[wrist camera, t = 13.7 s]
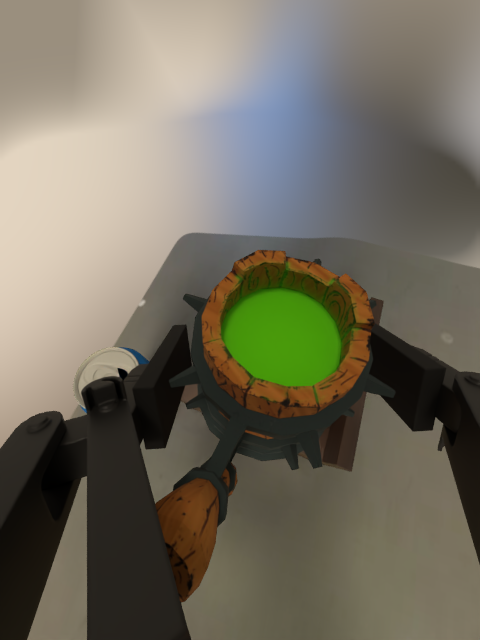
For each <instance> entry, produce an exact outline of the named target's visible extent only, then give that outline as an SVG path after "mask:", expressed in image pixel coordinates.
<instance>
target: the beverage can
mask: <svg viewBox="0 0 480 640" xmlns="http://www.w3.org/2000/svg"><path fill="white" fill-rule="evenodd" d="M139 364H149V361H148V360H147V359H146V358H144V357H143V356H142V355H141V354H140V353H138V352H137V351H135V350H133V349H129V348H123V347H119V348H118V347H110V348H105V349H102V350H99V351H97V352H95V353H94V354H92V355H91V356H89V357H88V358H87V359H86V360H85V361H84V362H83V363H82V364H81V366H80V367H79V369H78V371H77V373H76V375H75V378H74V383H73V391H74V396H75V398H76V400H77V402H78V403H79V404H80V406H81V407H82V409H83V410H84V411H85V412H86V413H87V411H86V408H85V405H84V401H83V398H82V395H81V391H82V389H83V388H84V387H85V386H86V385H87V384H89V383H91V382H92V381H94V380H97V379H100V378H103V377H108V376H117V377H121V378H122V379H123V380H124V379H125V378H126V377H127V375H128V374H129V372H130V371H131V370H132V369H133V368H135V367H136V366H138V365H139Z"/></svg>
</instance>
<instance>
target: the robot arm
mask: <svg viewBox="0 0 480 640" xmlns="http://www.w3.org/2000/svg"><path fill="white" fill-rule="evenodd" d="M370 345H371V350H372V355H373V362H372V365H371V368H370V371H369V374H370V375H372V376H374V377H375V378H377V379H378V380H380V381H381V382H383V383H384V384H386V385H388V386H389V387H391V388H392V389H394V390H395V395H394V397H393V398H391V397H387V396H382V395H380V396H381V397H382V398H383V399H384V400H385V401H386V402H387V403H388V404H389V406H390V407H391V408H392V409H393V410H394V411H395V412H396V413H397V414H398V415H399V417H400V418H401V419H402V420H403V421H404V422H405V423H406V424H407V425H408V427H409V428H410V429H411V430H412V431H428V430H433V426H434V421H435V417H436V418H437V419H439V420H440V421H441V422H442V423H443V428H442V432H441V437H440V441H439V445H438V451H442V447H444V446H445V448H446V451H447V454H448V458H449V461H450V465H451V468H452V471H453V475H454V478H455V482H456V485H457V489H458V492H459V495H460V499H461V502H462V506H463V509H464V512H465V516H466V519H467V523H468V526H469V529H470V533H471V536H472V540H473V543H474V547H475V550H476V553H477V557H478V560H479V564H480V374H479V373H475V372H459V371H457V370H456V369H454V368H452V367H451V366H449V365H447V364H446V363H444V362H443V361H439V359H438V358H436V357H434V356H432V355H431V354H430V353H428V352H426V351H425V350H423V349H420V348H417V347H414V346H411V345H409V344H408V343H406V342H404V341H403V340H401V339H400V338H398V337H397V336H395V335H393V334H392V333H390V332H389V331H387V330H385V329H384V328H382V327H381V326H379V325H378V324H376V323H375V324H374V326H373V327H372V329H371V340H370ZM191 366H192V363H191V356H190V348H189V341H188V334H187V327H186V325H174V326H173V327H172V329H171V330H170V332H169V333H168V335H167V336H166V338H165V339H164V341H163V342H162V344H161V345H160V347H159V348H158V350H157V351H156V353H155V354H154V356H153V358H152V359H151V361H150V362H149V364H139V365H138V366H136V367H135V368H133V369H132V370H131V371H130V372H129V374H128V375H127V377H126V378H125V379H124V380H123V379H122V378H121V377H117V376H108V377H103V378H100V379H97V380H94V381H92V382H91V383H89V384H87V385H86V386H85V387H84V388H83V389H82V391H81V395H82V398H83V401H84V405H85V408H86V411H87V415H85V416H82V417H78V418H74V419H70V420H66V421H64V419H63V416H62V414H61V413H60V412H57V411H49V412H44V413H40V414H37V415H35V416H32V417H30V418H29V419H28V420H26V421H24V422H23V423H21V424H20V425H19V426H18V427H17V428H16V429H15V430H14V432H13V433H12V434H11V435H10V437H9V438H8V439H7V441H6V442H5V443H4V444H3V446H2V447H1V448H0V640H27V638H28V635H29V632H30V629H31V626H32V623H33V620H34V617H35V614H36V611H37V608H38V605H39V602H40V599H41V596H42V593H43V591H44V588H45V585H46V582H47V579H48V576H49V573H50V570H51V567H52V564H53V561H54V558H55V555H56V552H57V549H58V546H59V543H60V540H61V537H62V534H63V531H64V528H65V525H66V522H67V519H68V516H69V513H70V511H71V508H72V505H73V502H74V499H75V496H76V493H77V490H78V487H79V484H80V481H81V478H82V477H85V476H87V640H191V638H190V634H189V631H188V628H187V624H186V621H185V617H184V613H183V609H182V605H181V602H180V598H179V594H178V590H177V586H176V582H175V579H174V575H173V571H172V567H171V563H170V559H169V556H168V552H167V548H166V544H165V540H164V536H163V533H162V529H161V525H160V521H159V517H158V514H157V510H156V506H155V502H154V498H153V494H152V491H151V487H150V483H149V479H148V475H147V471H146V468H145V464H144V460H143V456H142V452H141V449H140V444H141V442H142V440H143V439H144V443H145V448H146V449H159V448H166V445H167V442H168V439H169V435H170V432H171V429H172V426H173V423H174V420H175V417H176V413H177V410H178V407H179V404H180V401H181V398H182V395H183V391H184V388H185V386H179V387H172V388H171V386H170V383H169V380H170V379H171V378H173V377H175V376H176V375H178V374H180V373H181V372H183V371H185V370H186V369H188V368H190V367H191Z"/></svg>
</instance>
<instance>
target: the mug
mask: <svg viewBox="0 0 480 640" xmlns="http://www.w3.org/2000/svg"><path fill="white" fill-rule="evenodd" d="M183 300H185V301H186V302H187V303H188V304H189V305H190V306H192V307H193V308H194V309H195V310H196V311H197V312H198V314H197V315H196V317H195V323H194V331H193V339H192V347H191V358H192V362H193V366H191V367H190V368H188V369H186V370H185V371H183V372H181V373H180V374H178V375H176V376H175V377H173V378H171V379H170V380H169V383H170V386H171V388H172V387H179V386H186V385H193V384H197V390H198V395H197V396H196V397H194V398H193V399H191V400H190V401H188V402H187V403H185V404H186V407H187V409H192V408H198V407H200V409H201V412H202V414H203V416H204V418H205V420H206V423H207V425H208V427H209V429H210V431H211V432H212V433H213V434H214V435H216V436H217V437H218V438H219V439H220V441H219V443H218V445H217V447H216V449H215V451H214V453H213V455H212V457H211V458H210V459H209V460H207V461H206V462H205V463H204V464H203V465H202V466H201V468H200V467H196V468H193V469H192V470H191V471H189V472H188V473H187V474H186V475H185V476H184V477H183V478H182V479H181V480H179V481H178V482H177V483H176V484H175V485H174V488H173V492H171V493H170V494H168V495H167V496H165V497H164V498H162V499H161V500H159V501H158V502H157V503H156V504H155V506H156V510H157V514H158V517H159V521H160V525H161V529H162V533H163V536H164V540H165V544H166V548H167V552H168V556H169V559H170V563H171V567H172V571H173V575H174V579H175V582H176V586H177V590H178V594H179V598H180V602H184V601H186V600H187V599H188V598H189V596H190V595H191V594H192V593H193V592H194V591H195V590H196V589H197V588H198V587H199V585H200V583H201V581H202V579H203V577H204V574H205V572H206V570H207V568H208V565H209V562H210V559H211V556H212V552H213V549H214V546H215V542H216V533H217V527H218V526H219V525H220V524H221V523H222V522H223V521H224V520H225V517H226V514H227V504H228V496H230V495H231V494H232V493H233V490H234V488H235V486H236V484H237V474H236V468H235V466H234V465H233V464H232V463H231V461H232V459H233V457H234V455H235V453H239V454H242V455H245V456H248V457H251V458H254V459H257V460H260V461H267V460H275V459H284V458H286V459H287V461H288V463H289V465H290V467H291V469H292V470H295V469H299V468H298V457H297V454H299V453H300V452H302V451H303V450H304V452H305V454H306V456H307V457H308V459H309V461H310V463H311V465H312V467H313V469H314V468H318V467H322V459H321V452H320V445H319V438H320V437H321V435H322V434H323V432H324V430H325V429H327V428H328V427H329V426H330V425H331V424H332V423H334V422H335V421H336V420H337V419H338V418H339V417H340V416H341V415H345V416H349V417H353V416H354V414H355V411H353V410H352V409H350V407H351V406H352V405H354V404H355V403H356V402H357V401H358V400H359V399H360V398H361V397H362V394H363V391H364V392H369V393H373V394H378V395H382V396H387V397H391V398H393V397H394V395H395V390H394V389H392V388H391V387H389V386H388V385H386V384H384V383H383V382H381V381H380V380H378V379H377V378H375V377H374V376H372V375H370V374H369V371H370V368H371V365H372V362H373V355H372V350H371V345H370V340H371V329H372V327H373V326H374V324H375V322H374V318H373V314H372V311H371V309H373V308H374V307H375V306H377V305H376V301H375V300H368V296H367V293H366V291H365V290H364V289H363V288H361V287H360V286H359V285H358V284H357V283H356V282H355V281H354V280H353V279H351V278H350V277H349V276H348V275H347V274H344V275H343V276H341V277H339V276H337V275H335V274H334V273H332V272H330V271H328V270H327V269H325V268H323V267H321V261H320V259H315V260H314V262H309V261H305V260H300V259H295V258H291V257H286V253H285V251H268V250H258V251H256V252H254V253H252V254H250V255H248V256H246V257H244V258H242V259H240V260H238V261H236V262H234V266H233V269H232V271H231V272H230V273H229V274H228V275H227V276H226V277H225V278H224V279H223V280H222V281H221V282H220V283H219V284H218V285H217V286H216V287H215V288H214V289H213V290H212V292H211V295H210V296H209V298H208V299H204V298H200V297H196V296H193V295H189V294H185V295H184V297H183Z"/></svg>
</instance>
